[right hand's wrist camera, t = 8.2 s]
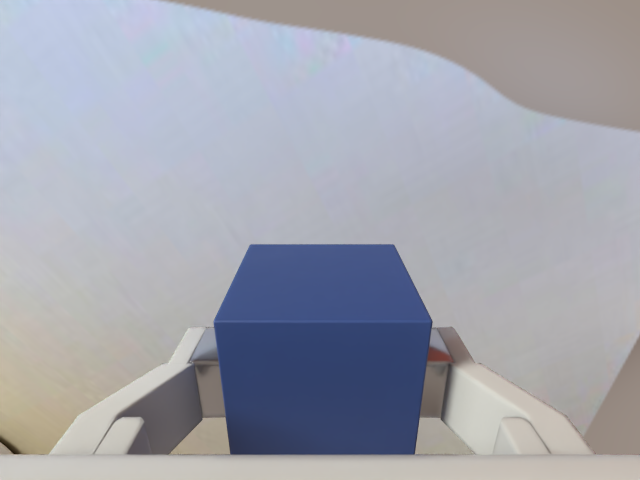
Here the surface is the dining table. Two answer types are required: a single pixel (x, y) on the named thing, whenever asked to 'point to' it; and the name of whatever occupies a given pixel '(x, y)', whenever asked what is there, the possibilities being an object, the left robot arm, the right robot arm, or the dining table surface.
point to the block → (322, 351)
